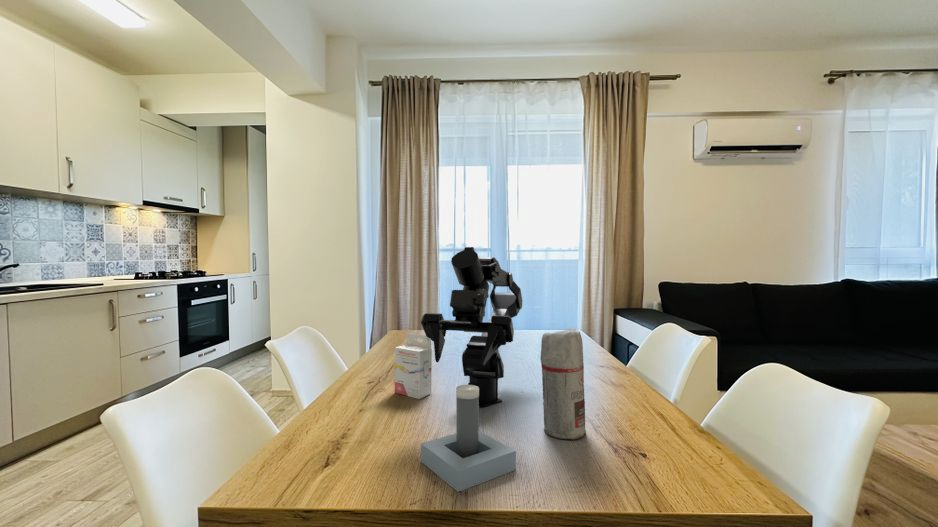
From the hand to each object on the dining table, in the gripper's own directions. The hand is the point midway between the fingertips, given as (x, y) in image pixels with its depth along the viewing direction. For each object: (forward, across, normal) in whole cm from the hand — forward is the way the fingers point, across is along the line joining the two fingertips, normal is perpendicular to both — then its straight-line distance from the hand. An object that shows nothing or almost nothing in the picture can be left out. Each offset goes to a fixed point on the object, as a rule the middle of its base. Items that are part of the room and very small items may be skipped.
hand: (459, 362), depth 78 cm
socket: (+18, +5, +1) cm, 18 cm away
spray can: (+6, +20, +14) cm, 25 cm away
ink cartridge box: (-5, -18, +24) cm, 31 cm away
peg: (+18, +5, +1) cm, 18 cm away
